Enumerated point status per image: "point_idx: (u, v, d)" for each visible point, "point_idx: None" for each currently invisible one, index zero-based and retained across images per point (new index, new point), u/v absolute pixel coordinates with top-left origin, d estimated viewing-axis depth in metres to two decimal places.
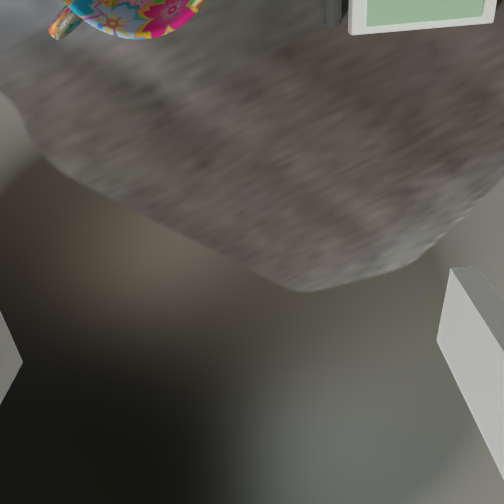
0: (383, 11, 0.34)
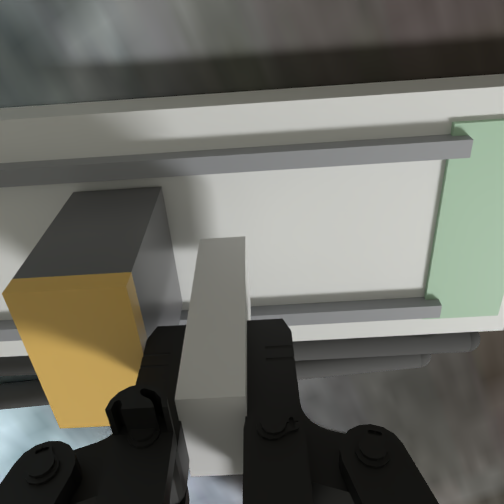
0: (481, 294, 0.19)
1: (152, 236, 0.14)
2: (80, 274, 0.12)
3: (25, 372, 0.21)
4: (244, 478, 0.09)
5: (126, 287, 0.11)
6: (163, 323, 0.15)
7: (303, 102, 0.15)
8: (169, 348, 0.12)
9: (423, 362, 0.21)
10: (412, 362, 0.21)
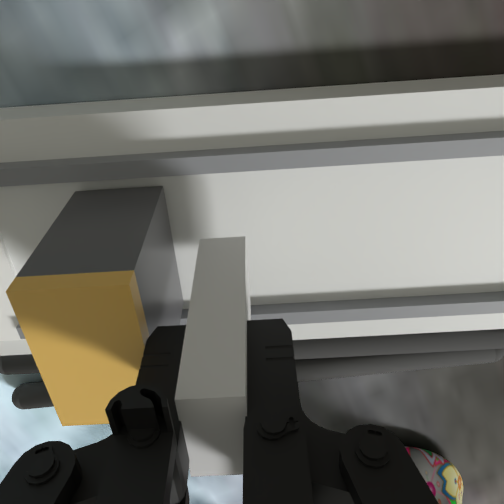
0: None
1: (154, 235, 0.14)
2: (83, 272, 0.12)
3: None
4: (244, 478, 0.09)
5: (129, 285, 0.12)
6: (165, 321, 0.15)
7: (411, 95, 0.15)
8: (169, 348, 0.12)
9: (498, 357, 0.21)
10: (487, 357, 0.21)
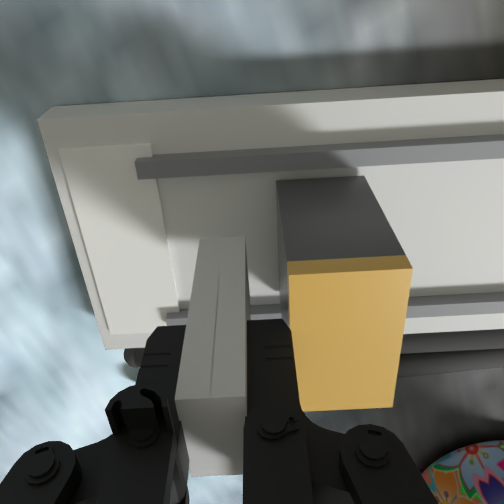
0: None
1: None
2: (354, 257, 0.12)
3: None
4: (244, 478, 0.09)
5: None
6: None
7: None
8: (169, 348, 0.12)
9: None
10: None
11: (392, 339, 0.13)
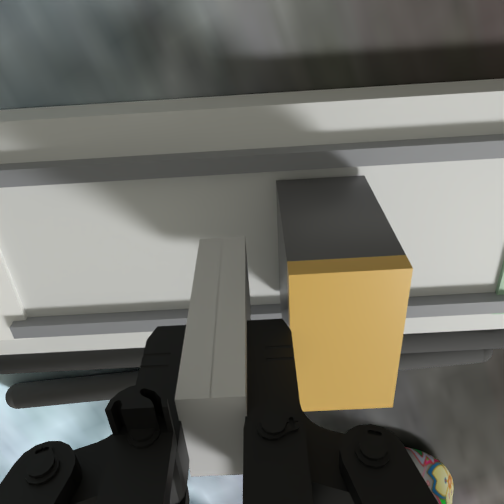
0: None
1: None
2: (354, 257, 0.12)
3: (92, 366, 0.22)
4: (244, 478, 0.09)
5: None
6: None
7: (398, 99, 0.15)
8: (169, 348, 0.12)
9: (486, 357, 0.22)
10: (475, 357, 0.22)
11: (392, 339, 0.13)
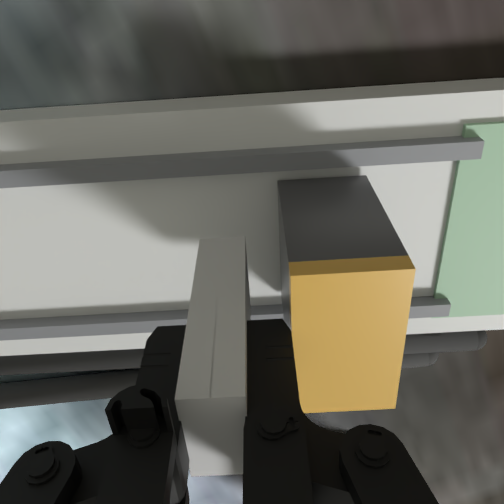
0: (489, 294, 0.19)
1: None
2: (356, 257, 0.12)
3: (37, 370, 0.22)
4: (244, 478, 0.09)
5: (415, 270, 0.12)
6: None
7: (318, 104, 0.15)
8: (169, 348, 0.12)
9: (431, 360, 0.22)
10: (420, 360, 0.22)
11: (395, 340, 0.13)
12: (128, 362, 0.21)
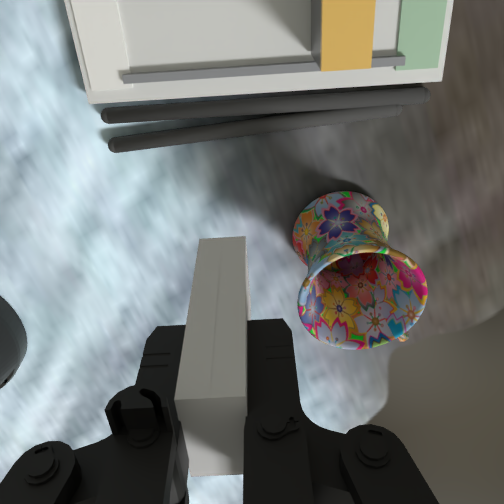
0: (427, 52, 0.34)
1: None
2: None
3: (163, 115, 0.37)
4: (244, 478, 0.09)
5: None
6: None
7: None
8: (169, 348, 0.12)
9: (397, 109, 0.37)
10: (391, 109, 0.37)
11: (369, 19, 0.28)
12: (218, 109, 0.36)
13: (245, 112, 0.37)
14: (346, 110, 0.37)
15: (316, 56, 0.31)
